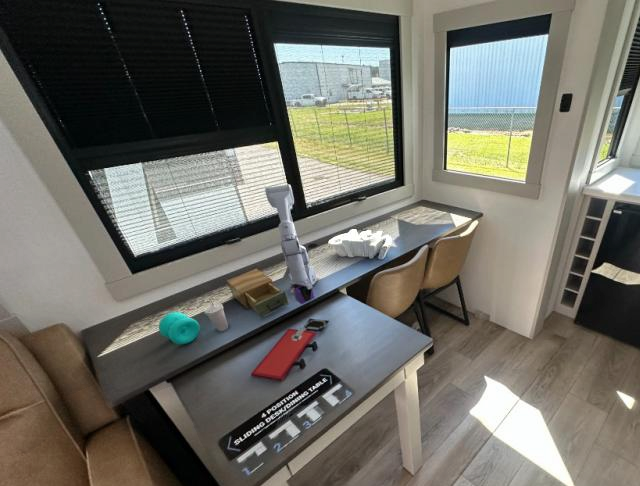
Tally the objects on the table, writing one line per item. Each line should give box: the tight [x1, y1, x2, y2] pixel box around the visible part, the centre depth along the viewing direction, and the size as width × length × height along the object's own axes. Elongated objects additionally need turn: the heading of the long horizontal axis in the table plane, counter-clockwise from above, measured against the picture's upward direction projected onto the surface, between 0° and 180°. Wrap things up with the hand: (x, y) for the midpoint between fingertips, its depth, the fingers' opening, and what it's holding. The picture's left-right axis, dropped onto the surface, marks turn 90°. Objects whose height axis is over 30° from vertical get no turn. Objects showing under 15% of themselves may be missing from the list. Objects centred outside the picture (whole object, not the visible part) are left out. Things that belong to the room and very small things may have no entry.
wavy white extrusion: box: [328, 228, 393, 260], centre depth 167 cm, size 35×16×11 cm, turn 71°
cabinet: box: [226, 268, 275, 310], centre depth 138 cm, size 16×14×8 cm
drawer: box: [244, 283, 290, 319], centre depth 129 cm, size 19×12×6 cm, turn 45°
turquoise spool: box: [158, 311, 201, 345], centre depth 115 cm, size 10×10×10 cm
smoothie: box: [203, 296, 229, 332], centre depth 118 cm, size 6×6×14 cm
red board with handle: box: [250, 318, 330, 382], centre depth 109 cm, size 30×3×15 cm
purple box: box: [292, 285, 315, 305], centre depth 129 cm, size 4×6×6 cm
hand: (305, 297), depth 130 cm, fingers closed on purple box, 4 cm apart
